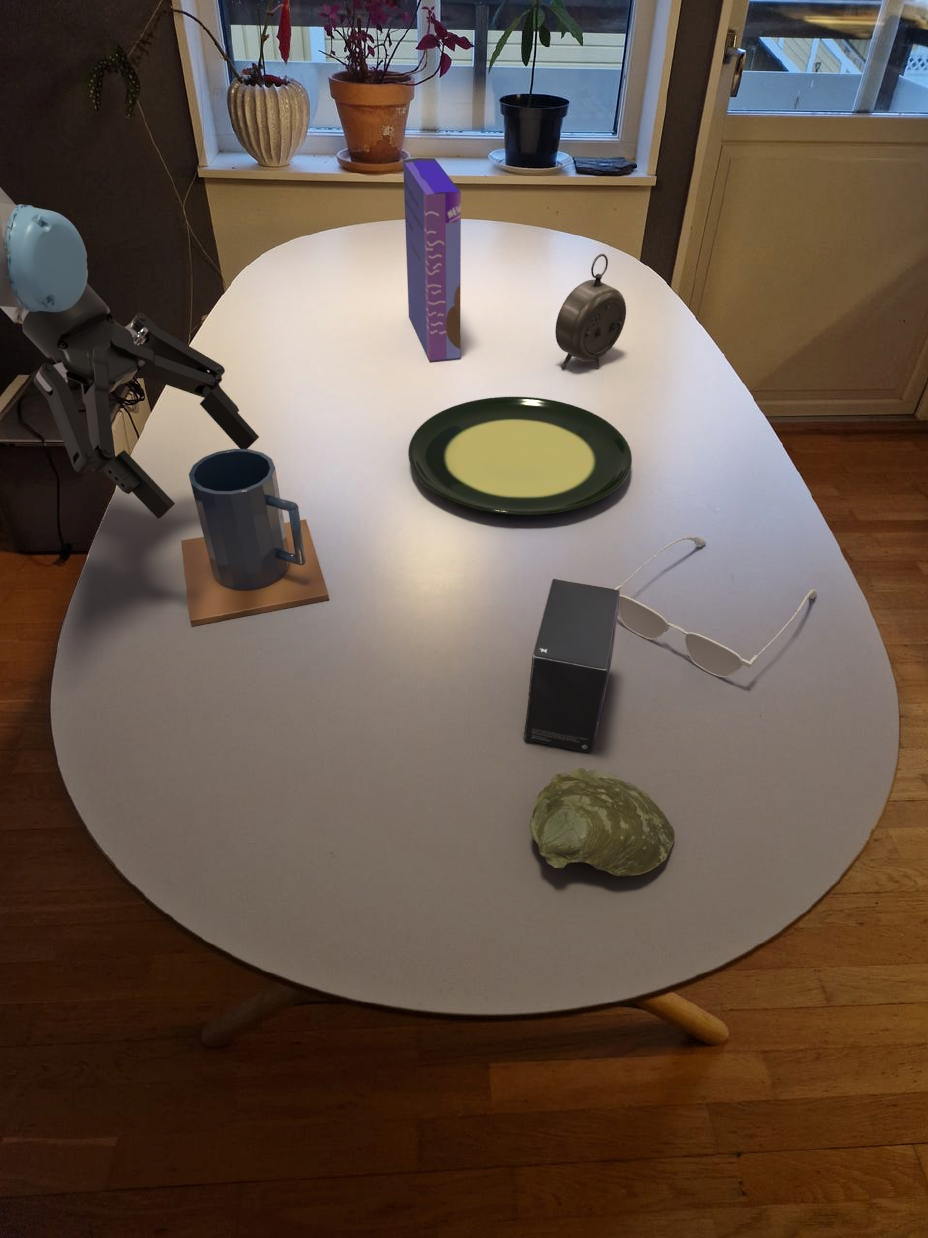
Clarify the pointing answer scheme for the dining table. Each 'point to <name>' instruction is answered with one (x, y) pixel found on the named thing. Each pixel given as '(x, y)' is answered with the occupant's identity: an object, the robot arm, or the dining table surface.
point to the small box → (571, 665)
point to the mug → (245, 519)
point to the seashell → (600, 824)
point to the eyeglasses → (698, 646)
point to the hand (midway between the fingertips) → (211, 476)
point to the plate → (519, 455)
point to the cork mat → (225, 603)
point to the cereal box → (433, 257)
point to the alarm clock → (590, 319)
